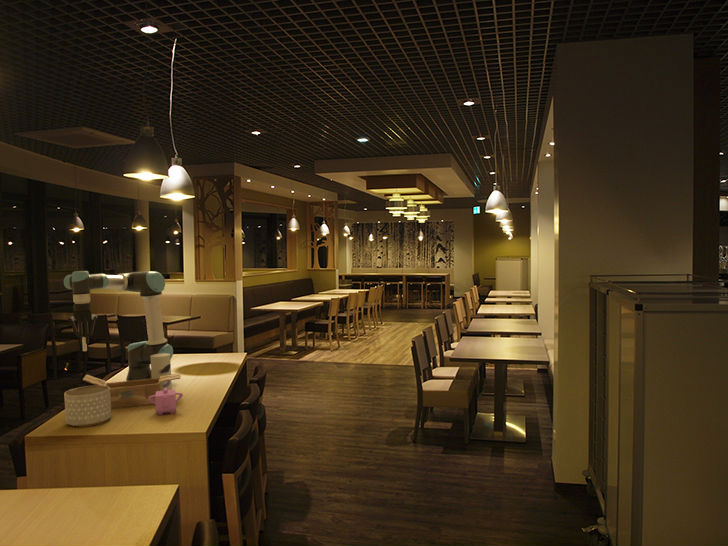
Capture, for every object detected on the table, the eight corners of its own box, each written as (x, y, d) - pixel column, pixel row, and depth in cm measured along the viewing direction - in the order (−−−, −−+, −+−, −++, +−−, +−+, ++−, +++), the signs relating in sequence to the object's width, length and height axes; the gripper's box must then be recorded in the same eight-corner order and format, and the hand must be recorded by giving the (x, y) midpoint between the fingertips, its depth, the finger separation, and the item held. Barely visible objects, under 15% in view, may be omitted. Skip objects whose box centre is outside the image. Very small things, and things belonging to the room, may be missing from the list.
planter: (64, 430, 249) (62, 397, 248) (67, 419, 266) (65, 388, 265) (111, 424, 256) (109, 392, 255) (111, 413, 273) (110, 383, 272)
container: (165, 394, 307) (163, 356, 306) (148, 393, 309) (146, 356, 308) (175, 389, 317) (173, 353, 316) (158, 389, 319) (156, 353, 318)
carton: (107, 402, 294) (106, 382, 294) (161, 396, 302) (160, 377, 302) (103, 410, 279) (102, 389, 279) (160, 403, 287) (159, 384, 287)
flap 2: (160, 376, 300) (180, 372, 303) (160, 377, 300) (180, 373, 303) (159, 381, 288) (180, 377, 291) (159, 382, 288) (180, 378, 291)
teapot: (188, 410, 274) (187, 387, 273) (165, 418, 262) (164, 394, 262) (167, 406, 282) (165, 384, 281) (143, 414, 270) (142, 391, 270)
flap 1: (106, 382, 292) (86, 375, 289) (106, 381, 292) (86, 374, 289) (103, 387, 281) (82, 380, 278) (103, 386, 281) (82, 379, 278)
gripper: (65, 304, 277) (68, 353, 278) (95, 302, 281) (98, 350, 282) (68, 302, 284) (71, 350, 285) (97, 301, 288) (100, 348, 289)
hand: (84, 350), depth 283 cm, fingers closed
